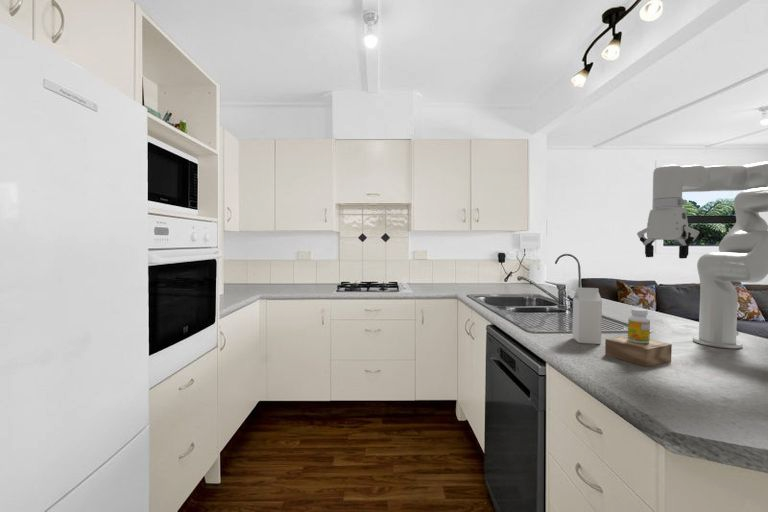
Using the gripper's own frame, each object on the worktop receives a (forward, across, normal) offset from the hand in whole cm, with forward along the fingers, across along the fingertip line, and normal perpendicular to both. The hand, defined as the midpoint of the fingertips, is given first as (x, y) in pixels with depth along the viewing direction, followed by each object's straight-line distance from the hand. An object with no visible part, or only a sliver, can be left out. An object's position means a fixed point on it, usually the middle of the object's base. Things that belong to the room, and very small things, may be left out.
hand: (665, 257), depth 117 cm
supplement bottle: (+25, -2, +17) cm, 30 cm away
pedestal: (+30, -2, +17) cm, 35 cm away
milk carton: (+30, +17, +14) cm, 37 cm away
